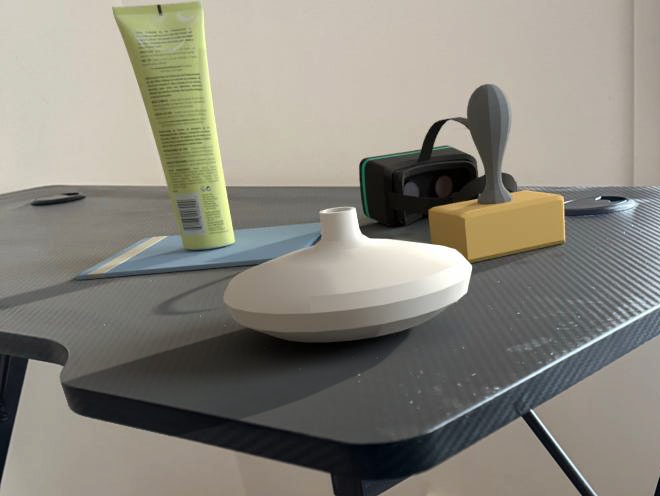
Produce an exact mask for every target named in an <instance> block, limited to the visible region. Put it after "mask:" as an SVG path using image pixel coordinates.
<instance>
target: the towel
mask: <svg viewBox="0 0 660 496" xmlns="http://www.w3.org/2000/svg"><path fill="white" fill-rule="evenodd" d="M233 233H234V239H235V242H234V243H233V244H230V245H227V246H223V247H218V248H212V249H203V250H187V249H185V248H184V247H183V243H182V240H181V236H180V234H177V235H176V234H175V235H160V236H152V237H144V238H142V239H140V240H138V241H136V242H134V243H133V244H131V245H129V246H128V247H126V248H123V249H122V250H120V251H118V252H116V253H115V254H113V255H112V256H111V255H110V256H109V257H107V258H106V259H104V260H102V261H100V262H98V263H97V264H95V265H93V266H91V267H89V268H87V269H86V270H84V271H83V272H81V273H79V274H76V279H77V281H83V280H95V279H105V278H108V279H109V278H119V277H128V276H141V275H151V274H163V273H175V272H187V271H197V270H207V269H208V270H210V269H219V268H221V269H222V268H231V267H242V266H252V265H253V266H254V265H255V266H256V265H260V264H262V263H265V262H268V261H270V260H273V259H275V258H278V257H280V256H283V255H286V254H288V253H291V252H294V251H297V250H300V249H303V248H306V247H310V246H313V244H314V243H315V242H316V241H317V240H318V239H319V238H320V236H322V230H321V222H319V221H318V222H317V221H316V222H307V223H298V224H296V223H295V224H285V225H276V226H275V225H274V226H265V227H264V226H263V227H254V228H252V227H251V228H242V229H233Z"/></svg>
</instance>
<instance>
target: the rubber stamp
mask: <svg viewBox="0 0 660 496" xmlns="http://www.w3.org/2000/svg"><path fill="white" fill-rule="evenodd" d="M466 118H467V121H468V126H469V129H468V131H469V133H470V136H471V139H472V141H473V143H474V146H475V148H476V151H477V152H478V155H479V157H480V160H481V163H482V167H483V170H484V169H485V171H484V175H485V174H486V186H485V189H484V191H483V192H482V194H479V198H478V199H475V200H470V201H464V202H459V203H453V204H448V205H443V206H437V207H433V208H431V209H429V215H428V222H429V232H430V241H431V243H430V244H432V245H440V246H445V247H448V248H452V249H455V250H457V251H458V252H459V253H460V254H462V256H463V257H464V258H465V259H466V260H467V261H468V262H469V263H470V264H474V263H477V262H482V261H486V260H490V259H497V258H501V257H505V256H509V255H515V254H519V253H525V252H529V251H533V250H538V249H542V248H548V247H552V246H556V245H561V244H565V243H566V230H565V229H566V226H565V225H566V224H565V223H566V222H565V200H564V199H565V198H564V196H562V195H561V194H556V193H548V192H541V191H535V190H527V189H526V190H525V189H524V190H520V191H517V192H513V193H510V192H509V191H508V190H507V189H506V188H505V187H504V185H503V183H502V178H501V172H502V167H503V161H504V156H505V153H506V149H507V145H508V143H509V142H508V141H509V137H510V133H511V128H512V119H513V117H512V107H511V102H510V100H509V97H508V96H507V93H506V92H505V91H504V90H503V89H502V88H501V87H500V86H498V85H497V84H496V85H495V84H494V83H485V84H482V85H479V86H478V87H477V88H475V90H474V91H473V92H472V93H471V95H470V97H469V99H468V102H467V106H466Z"/></svg>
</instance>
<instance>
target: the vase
mask: <svg viewBox="0 0 660 496" xmlns="http://www.w3.org/2000/svg"><path fill="white" fill-rule="evenodd" d="M318 215H319V221H320V222H321V230H322V234H321V235H320V236H321V238H320V239H319V241H317V243H316V244H314V245H311V246H310V247H306V248H303V249H300V250H297V251H294V252H291V253H288V254H286V255H283V256H280V257H278V258H275V259H273V260H270V261H268V262H265V263H262V264H256V265H255V266H252V267H250V268H248V269H246V270H244V271H242V272H240V273H239V272H238V273H237V274H236V275H235V276H234V277H233V278H232V279H231V280H229V282H228V285H227V287H226V288H225V290H224V293H223V298H222V300H223V304H224V305H225V307H226V309H227V311H228V312H229V315H230V316H231V318H232V319H233V321H235V322H236V323H238V324H239V325H241V326H242V327H245V328H248V329H251V330H254V331H256V332H259V333H263V334H266V335H268V336H270V337H271V336H272V337H274V338H277V339H281V340H285V341H289V342H299V343H335V342H336V343H337V342H350V341H358V340H365V339H370V338H372V339H373V338H377V337H381V336H387V335H391V334H395V333H399V332H403V331H405V330H408V329H411V328H414V327H415V328H416V327H417V326H420V325H422V324H424V323H426V322H428V321H430V320H431V319H433V318H435V317H436V316H438V315H439V314H440V313H442V312H443V311H445V310H446V309H447V308H449V307H450V306H452V305H454V304H455V303H456V302H458V301H459V300H460V299H462V298H463V296H465V295H466V294H467V293H468V291H469V285H470V280H471V276H472V270H473V266H472V263H469V262H468V261H467V260H466V259H465V258H464V257H463V256H462V254H460V253H459V252H458V251H457V250H455V249H452V248H448V247H445V246H440V245H432V243H423V242H416V241H409V240H408V241H407V240H401V239H391V238H369V237H368V236H366V235H364V234H363V233H362V232H361V229H360V226H359V222H358V221H359V220H358V216H357V210H356V207H355V206H339V207H337V206H336V207H331V208H325V209H323V210H319V211H318Z"/></svg>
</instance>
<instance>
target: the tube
mask: <svg viewBox="0 0 660 496" xmlns="http://www.w3.org/2000/svg"><path fill="white" fill-rule="evenodd" d="M111 9H112V14H113V17H114V19H115V23H116V25H117V28H118V30H119V33H120V35H121V38H122V41H123V43H124V47H125V49H126V52H127V55H128V58H129V61H130V65H131V67H132V70H133V73H134V76H135V79H136V82H137V86H138V89H139V92H140V96H141V99H142V102H143V105H144V108H145V112H146V115H147V118H148V122H149V125H150V128H151V132H152V134H153V138H154V142H155V146H156V150H157V152H158V157H159V160H160V164H161V168H162V171H163V173H164V178H165V181H166V185H167V189H168V193H169V198H170V200H171V204H172V209H173V211H174V217H175V220H176V224H177V229H178V232H179V235H180V236H181V240H182V243H183V247H184V248H185V249H187V250H203V249H212V248H218V247H223V246H227V245H230V244H233V243H234V242H235V239H234V233H233V230H234V228H233V222H232V217H231V211H230V205H229V199H228V192H227V187H226V180H225V175H224V169H223V168H224V167H223V163H222V156H221V149H220V143H219V135H218V130H217V129H218V128H217V123H216V116H215V111H214V110H215V109H214V103H213V102H214V101H213V96H212V87H211V80H210V72H209V62H208V53H207V44H206V33H205V14H204V11H205V10H204V6H203V1H202V0H191V1H181V2H169V3H166V2H165V3H153V4H140V5H139V4H138V5H123V6H122V5H120V6H119V5H118V6H112V7H111Z"/></svg>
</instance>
